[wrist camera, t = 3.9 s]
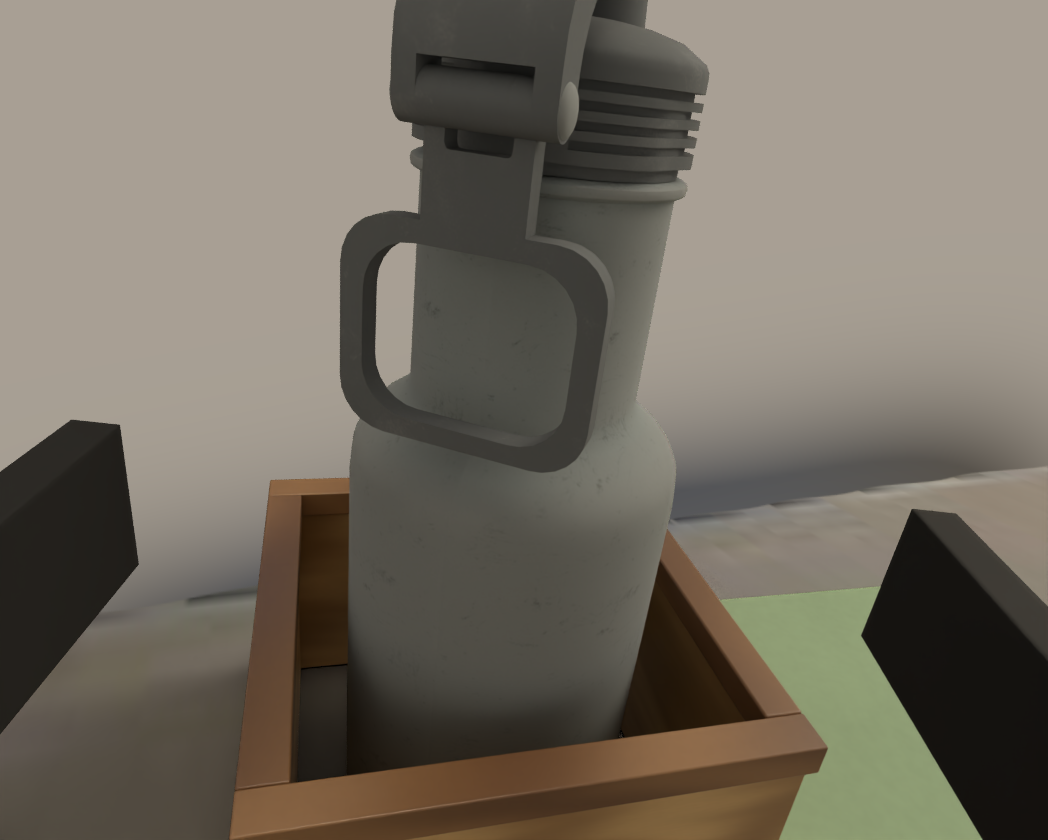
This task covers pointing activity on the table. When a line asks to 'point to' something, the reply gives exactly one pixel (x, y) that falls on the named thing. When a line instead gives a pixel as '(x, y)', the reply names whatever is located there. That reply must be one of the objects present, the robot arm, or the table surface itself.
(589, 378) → the water bottle
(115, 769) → the table surface
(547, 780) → the wooden box
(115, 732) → the table surface
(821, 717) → the desk mat
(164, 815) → the table surface
